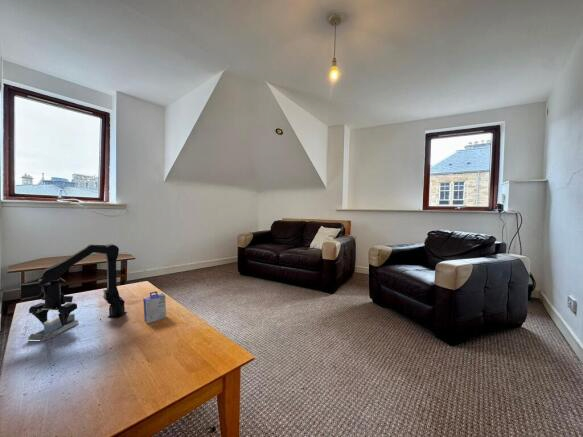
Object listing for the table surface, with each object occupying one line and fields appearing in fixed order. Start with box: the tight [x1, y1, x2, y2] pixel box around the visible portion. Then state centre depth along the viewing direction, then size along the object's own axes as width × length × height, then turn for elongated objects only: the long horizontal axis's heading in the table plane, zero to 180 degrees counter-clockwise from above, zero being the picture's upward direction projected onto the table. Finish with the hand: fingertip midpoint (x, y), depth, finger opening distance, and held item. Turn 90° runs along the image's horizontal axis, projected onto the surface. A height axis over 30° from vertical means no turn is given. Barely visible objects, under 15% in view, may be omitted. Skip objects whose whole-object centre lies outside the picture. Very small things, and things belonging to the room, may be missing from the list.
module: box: [43, 316, 63, 333], centre depth 119 cm, size 4×6×5 cm
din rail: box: [27, 313, 79, 342], centre depth 119 cm, size 8×17×6 cm, turn 178°
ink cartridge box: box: [142, 291, 167, 324], centre depth 132 cm, size 10×6×14 cm, turn 134°
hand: (54, 325), depth 119 cm, fingers open, 9 cm apart
